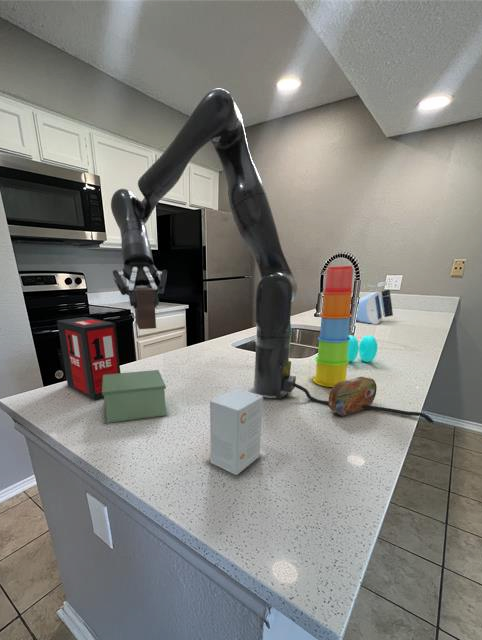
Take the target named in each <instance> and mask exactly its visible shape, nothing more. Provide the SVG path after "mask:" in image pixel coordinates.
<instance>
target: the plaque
mask: <svg viewBox="0 0 482 640" xmlns="http://www.w3.org/2000/svg"><path fill="white" fill-rule="evenodd" d="M134 291H135V297H136V308H134V315H135V324H136V326H137V327H138V329H139V330H153V329H157V317H156V307H155V301H154V289H152V288H150V287H147V286H144V285H142V286H136V287H134Z"/></svg>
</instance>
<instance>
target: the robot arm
mask: <svg viewBox="0 0 482 640" xmlns="http://www.w3.org/2000/svg"><path fill="white" fill-rule="evenodd" d="M208 143H210V144H211V145H212V146H213V148H214V151H215V152H216V154H217V157H218V160H219V162H220V164H221V167H222V169H223V173H224V178H225V183H226V192H227V199H228V200H227V201H228V204H229V209H230V211H231V214H232V217H233V221H234V222H235V225H236V229H237V230H238V233H239V234H240V237H241V238H242V240H243V242H244V243H245V246H246V247H247V248H248V249H249V251H250V253H251V254H252V256H253V258H254V259H255V262H256V264H257V267H258V271H259V274H260V280H259V282H258V283H257V287H256V290H255V307H254V308H255V311H254V312H255V313H254V322H255V325H256V338H255V340H256V342H255V359H254V375H253V376H254V377H253V390H252V391H253V392H252V393H255V394H258V395H261V396H263V399H277V400H278V399H279V400H282V398H283V397H285V396H286V395H287V394H289V393H291V394H292V392H293V390H294V389H295V388H296V389H298V390H301V391H302V392H304V394H305V395H306V397H307V399H309V400H310V401H312V402H314V403H318V404H322V405H325V406H327V405H328V406H329V400H322V399H318V398H315V397H314V396H312V395H311V394H310V392H309V390H308V389H307V388H305V387H304V386H303V385H300V384H298V383H296V381H297V376H296V375H291V369H292V361H291V360H290V351H291V340H292V332H293V331H292V330H293V326H292V325H293V324H292V322H291V317H292V316H291V314H292V303H293V302H294V300H295V299H296V296H297V294H298V284H297V281H296V279H295V278H296V277H294V276H295V275H294V274H293V272H292V270H291V268H290V265H289V264H288V261H287V259H286V256H285V254H284V251H283V249H282V245H281V241H280V236H279V233H278V229H277V226H276V222H275V219H274V214H273V211H272V208H271V205H270V201H269V199H268V195H267V193H266V190H265V188H264V185H263V182H262V179H261V178H260V174H259V172H258V170H257V168H256V166H255V164H254V161H253V160H252V159H253V158H252V156H251V153H250V149H249V146H248V141H247V138H246V132H245V127H244V122H243V117H242V113H241V111H240V109H239V107H238V105H237V103H236V101H235V100H234V98H233V97H232V95H231V93H230V92H228V91H227V90H226V89H223V88H214V89H212V90H209V91H208V92H207V93H206V94H205V95H204V96H203V97H202V99H201V100H200V101H199V103H198V104H197V105H196V107H195V109H194V110H193V111H192V113H191V114H190V115H189V117H188V119H187V120H186V122H185V123H184V124H183V125H182V127H181V129H180V130H179V132H178V133H177V134H176V136H175V137H174V139H173V140H172V141H171V143H170V144H169V145H168V146H167V147H166V149H165V150H164V152H163V153H162V154H161V155H160V156H159V157H158V159H157V160H155V162H154V163H153V164H152V165H151V166H150V167H149V168H148V169H147V170H145V172H144V173H143V174H142V175H141V176H140V177H139V179H138V180H137V187H138V189H139V191H140V193H141V195H142V196H143V199H142V200H140V199H139V198H138V197H137V196H135V194H134V193H132V191H130V190H128V189H127V188H119V189H117V190H116V191H115V192H113V194H112V197H111V200H110V209H111V214H112V216H113V218H114V221H115V223H116V225H117V227H118V229H119V231H120V240H121V245H120V246H121V255H122V261H123V268H122V270H121V271H118V270H117V269H114V270H112V278H113V279H112V280H113V281H114V283H115V286H116V287H117V288H118V291H119V292H120V294H121V295H122V296H125V295H126V296H128V298H129V305H130V306H131V307H133V309H135V308H136V297H135V291H134V287H141V286H147V287H150V288H152V289H154V301H155V308H157V306H159V304H160V298H159V294H160V295H163V294H164V292H165V287H166V283H167V276H168V270H167V269H163V270H158V268H156V266H155V263H154V258H153V253H152V247H151V246H152V245H151V242H150V240H149V236H148V235H149V234H148V231H147V226H146V224H147V222H148V220H149V218H150V217H151V215H152V213H153V211H154V210H155V208H156V207H157V205H158V203H159V202H160V200H162V198H164V197H165V196H166V195H167V194H168V193H169V192H170V191H171V190H172V189H173V188H174V187H175V186H176V185H177V183H178V182H179V180H180V179H181V177H182V176H183V174H184V172H185V170H186V168H187V166H188V165H189V163H190V161H192V159H193V157H194V156H195V155H196V154H197V153H198V152H199V151H200V150H201V149H202V148H203V147H204V146H205V145H207V144H208ZM156 277H157V278H158V280H159V285H157V284H156V282H155V278H156ZM124 278H125V279H126V280H128V281H129V284H128V286H126V284H125V282H124ZM362 408H364V410H372V411H379V412H387V413H393V414H399V415H402V416H403V415H404V416H415V417H420V418H423V419H425V420H426V422H428V423H430V424H434V423H435V422H434V420H433V419H432V418H431V417H430V416H429V415H428V414H426V413H423V412H419V411H407V410H402V409H396V408H389V407H383V406H376V405H375V406H374V405H370V406H369V405H363V406H362ZM419 415H420V416H419Z"/></svg>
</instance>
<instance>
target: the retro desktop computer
mask: <svg viewBox="0 0 482 640" xmlns="http://www.w3.org/2000/svg"><path fill="white" fill-rule="evenodd" d="M387 285H388V282H387V281H381V282H378V283H377V287H378V289H370V290H369V291H368V292H367V293H366V294H365V293H364V292H362V293H363V295H364V296H363V297H361V298H360V299H358V300H359V305H358V311H357V317H356V320H355V321H356V322H360V323H367V324H372V325H378V324H380V323H381V322H382V321H383V317H384V318H388V317H393V316H394V312H393V304H392V297H391V289H389V288H387V289H385V290H380V288H381V287H384V286H387ZM368 286H369V287H371V285H370V284H368ZM373 287H375V285H372V288H373ZM364 288H365V287H363V289H362V290H364ZM370 291H374V292H372V293H369V292H370Z"/></svg>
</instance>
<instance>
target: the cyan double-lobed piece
mask: <svg viewBox="0 0 482 640" xmlns="http://www.w3.org/2000/svg"><path fill="white" fill-rule="evenodd" d="M348 337H350V340H349V342H348V354H347V358H348V359H349V363H350V362H351V363H352V362H354V360H356V358H357V357H358V354H359V357H360V359H361V360H362V361H363V362H365V363H370V362H372V361H374V359H375V358H376V356H377V353H378V342H377V339H376V338H375V337H374V336H373V335H371V334H368V335H365V336H363V338H362V339H361V340H360V342H358V339H357V338H356V337H355V336H354V335H351V334H349V336H348Z"/></svg>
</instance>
